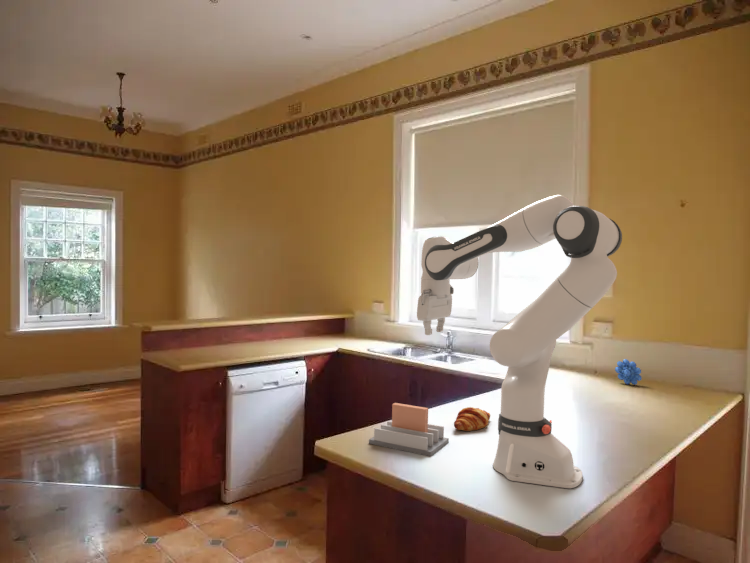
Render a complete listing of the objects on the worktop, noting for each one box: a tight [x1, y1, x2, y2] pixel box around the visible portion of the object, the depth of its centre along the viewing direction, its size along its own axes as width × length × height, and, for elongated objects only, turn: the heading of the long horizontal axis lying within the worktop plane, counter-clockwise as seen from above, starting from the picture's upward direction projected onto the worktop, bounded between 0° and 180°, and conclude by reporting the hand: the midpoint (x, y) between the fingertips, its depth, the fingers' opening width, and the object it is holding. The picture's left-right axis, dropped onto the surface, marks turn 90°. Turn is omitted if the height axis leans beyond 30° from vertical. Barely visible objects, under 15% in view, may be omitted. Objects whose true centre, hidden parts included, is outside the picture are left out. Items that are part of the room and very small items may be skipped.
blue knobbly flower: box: [614, 358, 642, 386], centre depth 248 cm, size 12×7×12 cm, turn 54°
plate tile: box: [391, 402, 429, 433], centre depth 158 cm, size 11×2×10 cm, turn 61°
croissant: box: [453, 406, 491, 432], centre depth 177 cm, size 21×10×8 cm, turn 139°
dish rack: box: [368, 420, 449, 457], centre depth 159 cm, size 20×14×5 cm
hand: (434, 333), depth 163 cm, fingers open, 8 cm apart
